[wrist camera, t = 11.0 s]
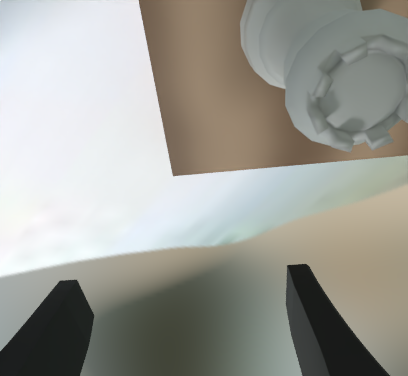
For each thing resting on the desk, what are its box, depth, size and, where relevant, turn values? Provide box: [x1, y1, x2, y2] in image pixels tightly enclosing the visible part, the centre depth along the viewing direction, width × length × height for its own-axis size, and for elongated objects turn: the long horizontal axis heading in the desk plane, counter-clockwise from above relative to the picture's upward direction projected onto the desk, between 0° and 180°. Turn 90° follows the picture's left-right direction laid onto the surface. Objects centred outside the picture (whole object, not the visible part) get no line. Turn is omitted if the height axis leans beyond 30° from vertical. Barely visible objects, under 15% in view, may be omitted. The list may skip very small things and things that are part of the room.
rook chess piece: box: [240, 0, 408, 153], centre depth 11 cm, size 4×4×8 cm
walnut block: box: [139, 0, 408, 176], centre depth 16 cm, size 12×12×3 cm
